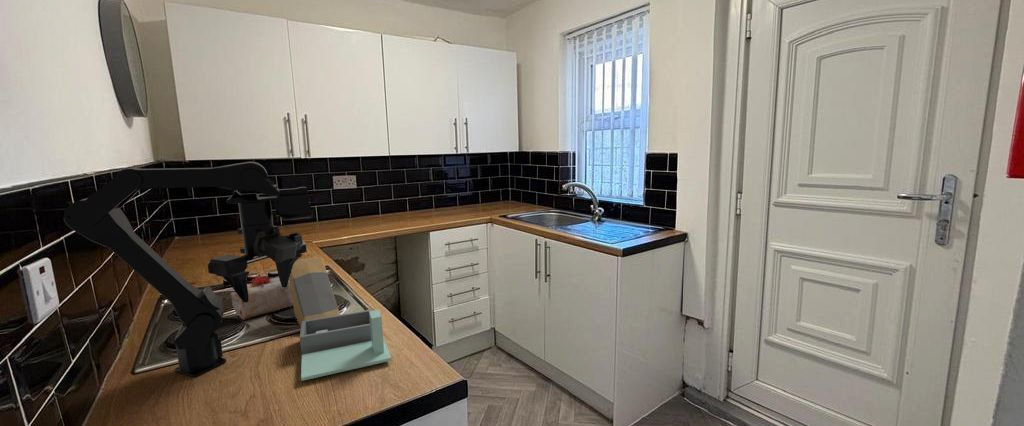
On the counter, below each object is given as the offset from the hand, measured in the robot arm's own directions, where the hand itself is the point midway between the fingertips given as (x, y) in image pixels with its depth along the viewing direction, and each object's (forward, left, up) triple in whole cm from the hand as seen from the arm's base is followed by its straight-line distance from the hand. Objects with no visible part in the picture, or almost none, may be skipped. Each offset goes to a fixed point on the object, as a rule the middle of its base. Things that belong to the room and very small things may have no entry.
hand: (266, 294), depth 91 cm
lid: (+2, -19, -13) cm, 23 cm away
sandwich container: (+15, +2, -13) cm, 20 cm away
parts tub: (+9, -11, -13) cm, 19 cm away
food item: (+15, +22, -13) cm, 30 cm away
